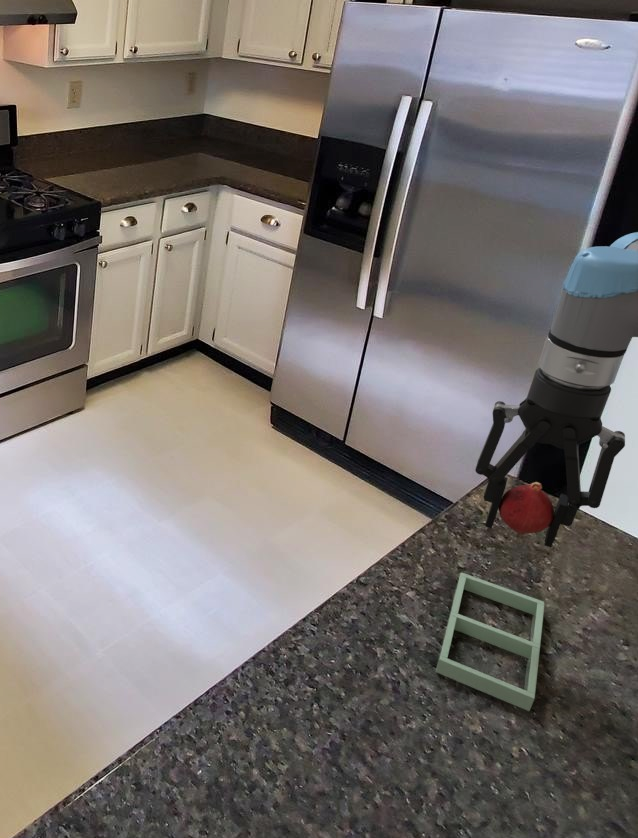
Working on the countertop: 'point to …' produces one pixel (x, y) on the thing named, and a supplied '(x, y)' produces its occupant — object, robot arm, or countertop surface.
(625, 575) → the countertop surface
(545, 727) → the countertop surface
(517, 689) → the holder
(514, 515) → the onion
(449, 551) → the countertop surface
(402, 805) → the countertop surface
